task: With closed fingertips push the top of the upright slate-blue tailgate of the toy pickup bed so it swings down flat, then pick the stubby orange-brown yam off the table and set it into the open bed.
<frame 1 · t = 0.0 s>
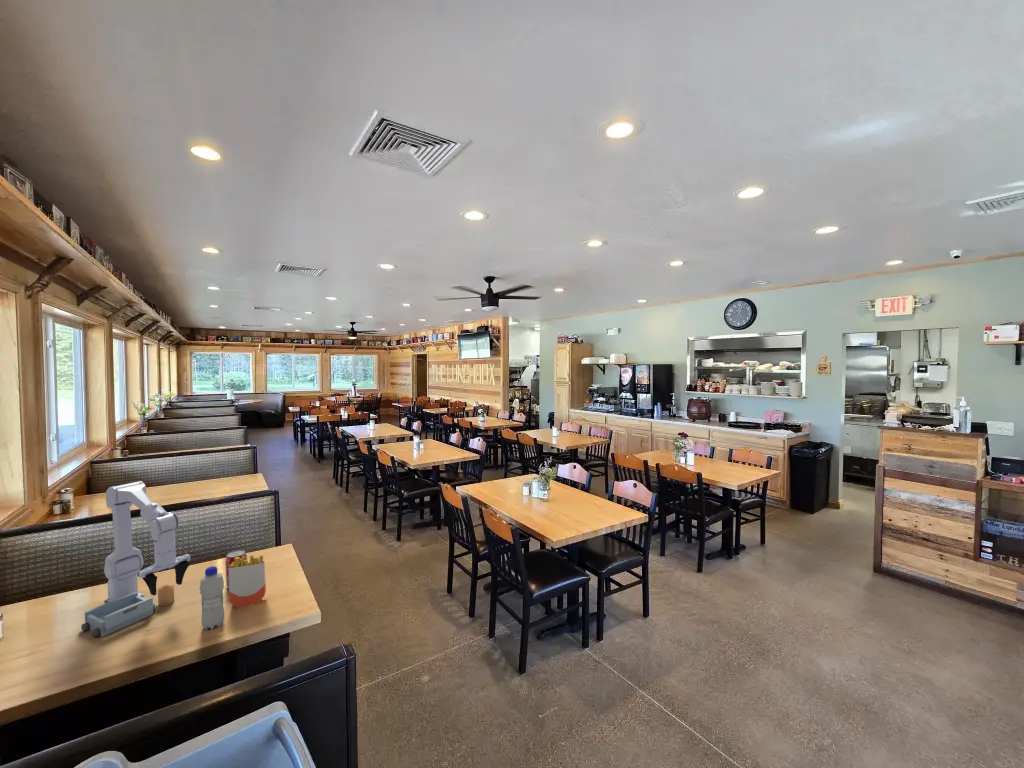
hand: (166, 589, 149), 10 cm above the table, fingers open, 7 cm apart
yam: (166, 602, 159), on the table
bottle: (213, 626, 145), on the table
french fries container: (248, 603, 159), on the table
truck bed: (120, 620, 148), on the table
soda can: (237, 586, 171), on the table
tailgate: (129, 612, 145), point 5 cm above the table, hinge at 0.0°
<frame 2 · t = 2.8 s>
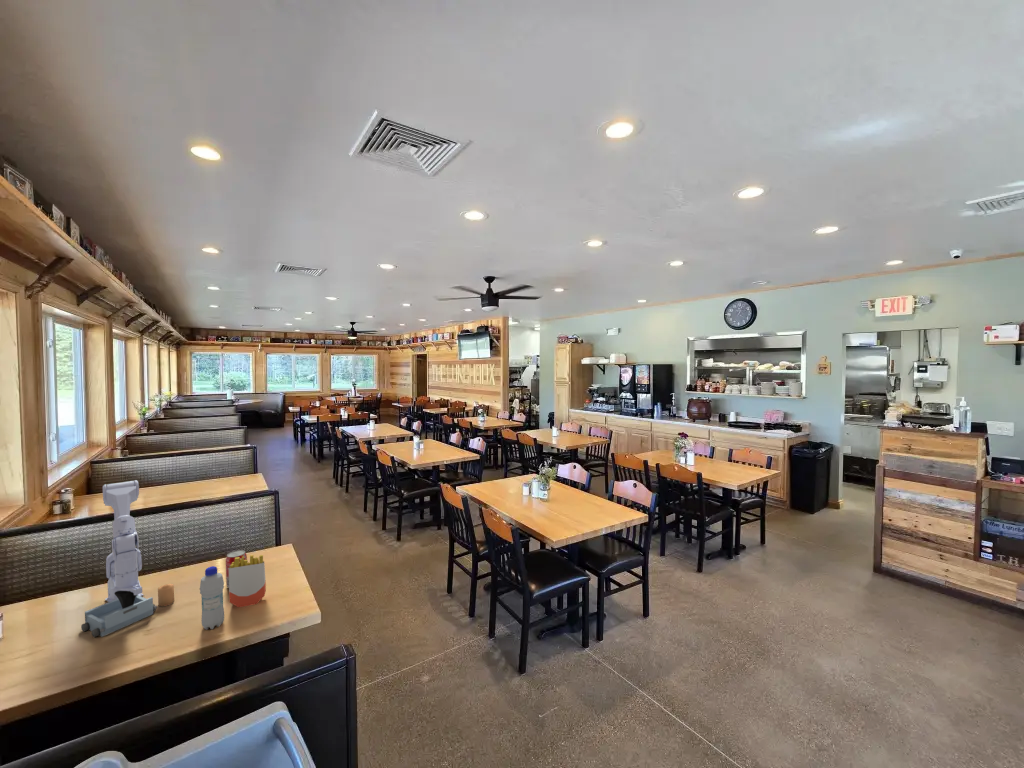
hand: (128, 610, 145), 5 cm above the table, fingers closed, pressing on tailgate
tailgate: (129, 612, 145), point 4 cm above the table, hinge at 0.0°, touching gripper
everything else where it was.
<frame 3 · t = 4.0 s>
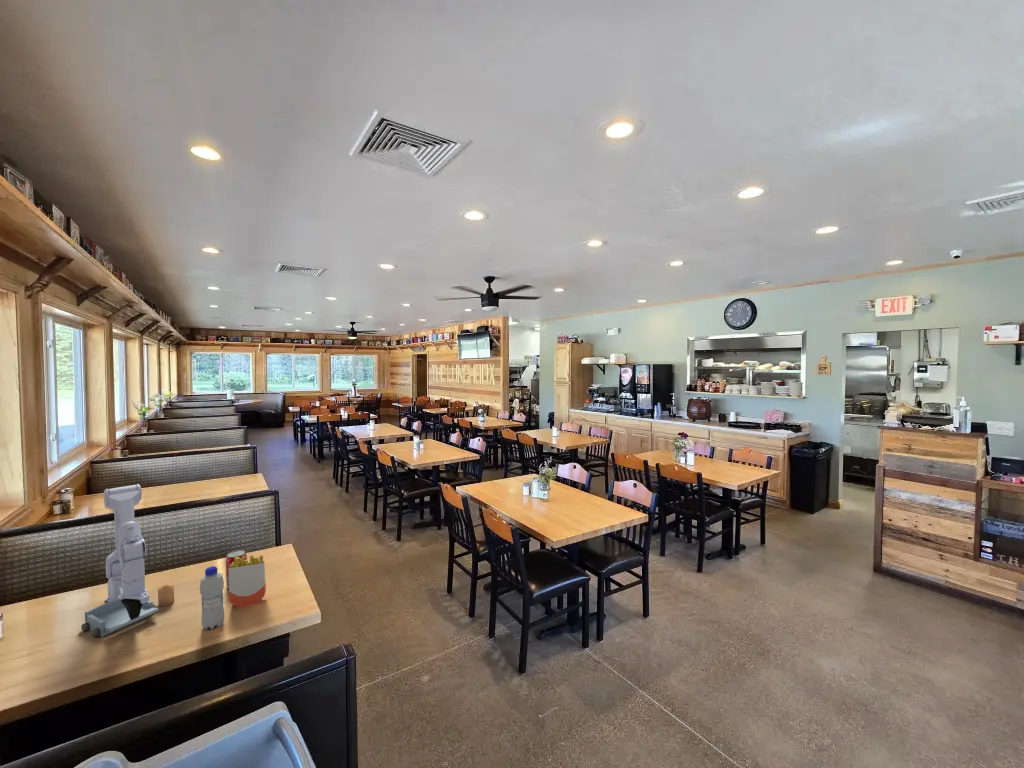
hand: (134, 618, 144), 3 cm above the table, fingers closed, pressing on tailgate
tailgate: (133, 619, 144), point 3 cm above the table, hinge at 79.9°, touching gripper
everything else where it was.
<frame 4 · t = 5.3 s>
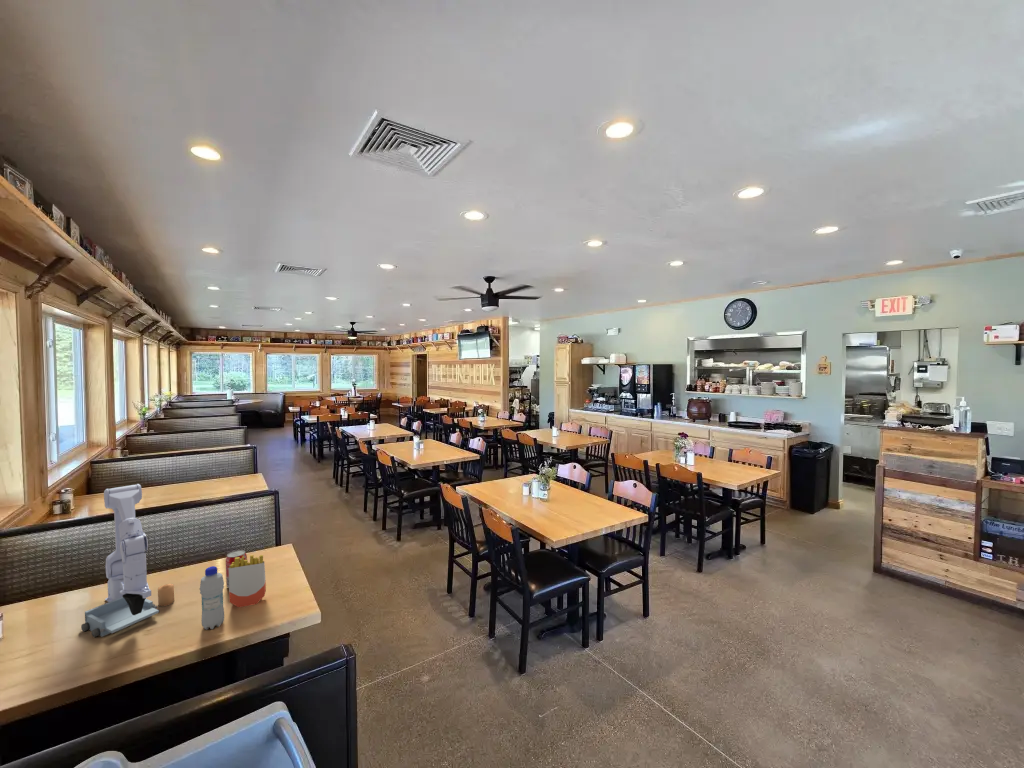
hand: (136, 613, 143), 5 cm above the table, fingers closed
tailgate: (133, 620, 144), point 2 cm above the table, hinge at 89.4°
everything else where it was.
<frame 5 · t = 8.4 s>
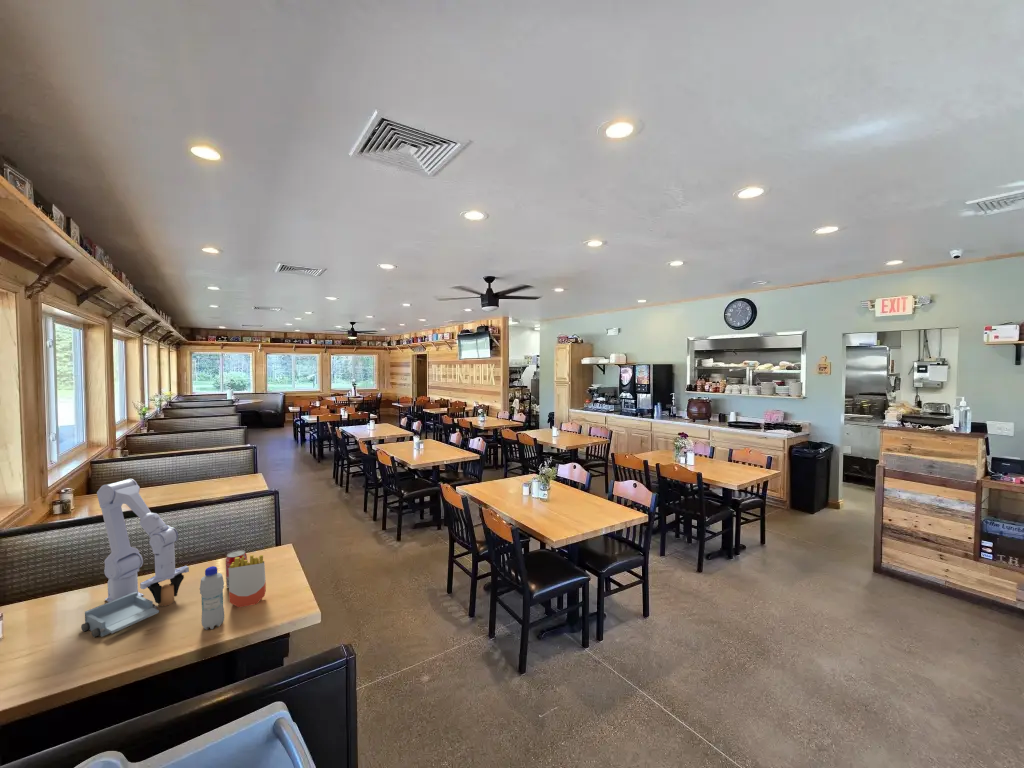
hand: (166, 599, 159), 1 cm above the table, fingers closed on yam, 5 cm apart
yam: (166, 602, 159), on the table, touching gripper
tailgate: (133, 620, 144), point 2 cm above the table, hinge at 89.9°
everything else where it was.
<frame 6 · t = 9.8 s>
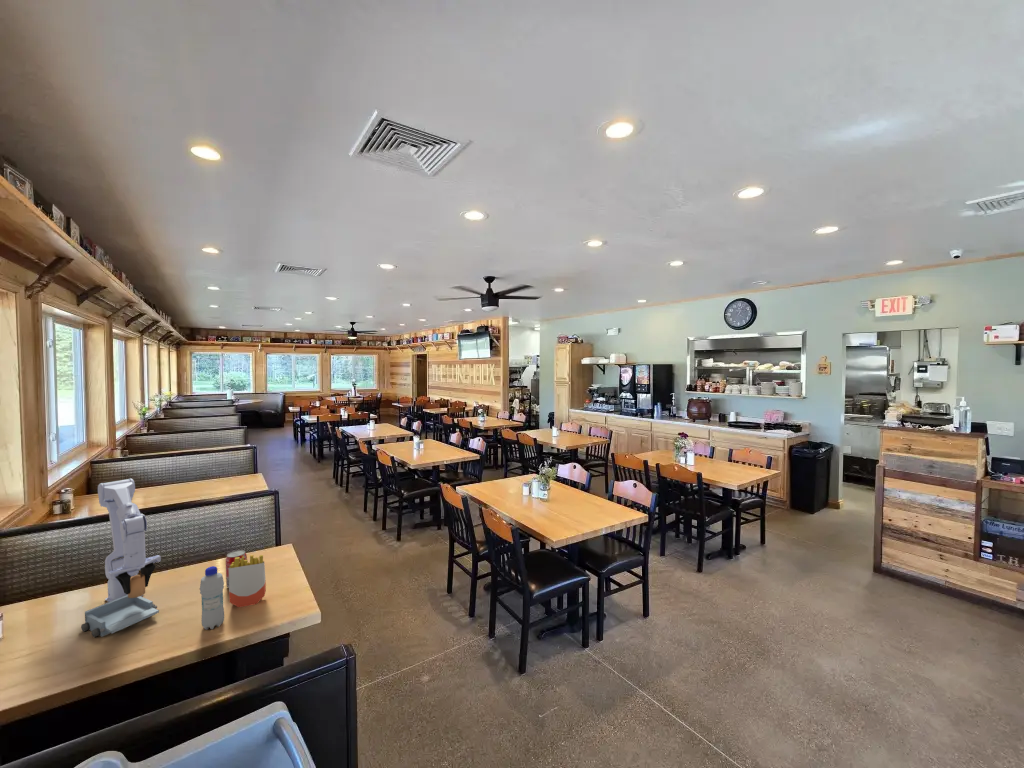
hand: (136, 589, 151), 9 cm above the table, fingers closed on yam, 5 cm apart
yam: (136, 594, 151), point 7 cm above the table, touching gripper
everything else where it was.
when the fingers open (5 cm above the table, at t = 11.3 s): yam stays where it is, resting on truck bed.
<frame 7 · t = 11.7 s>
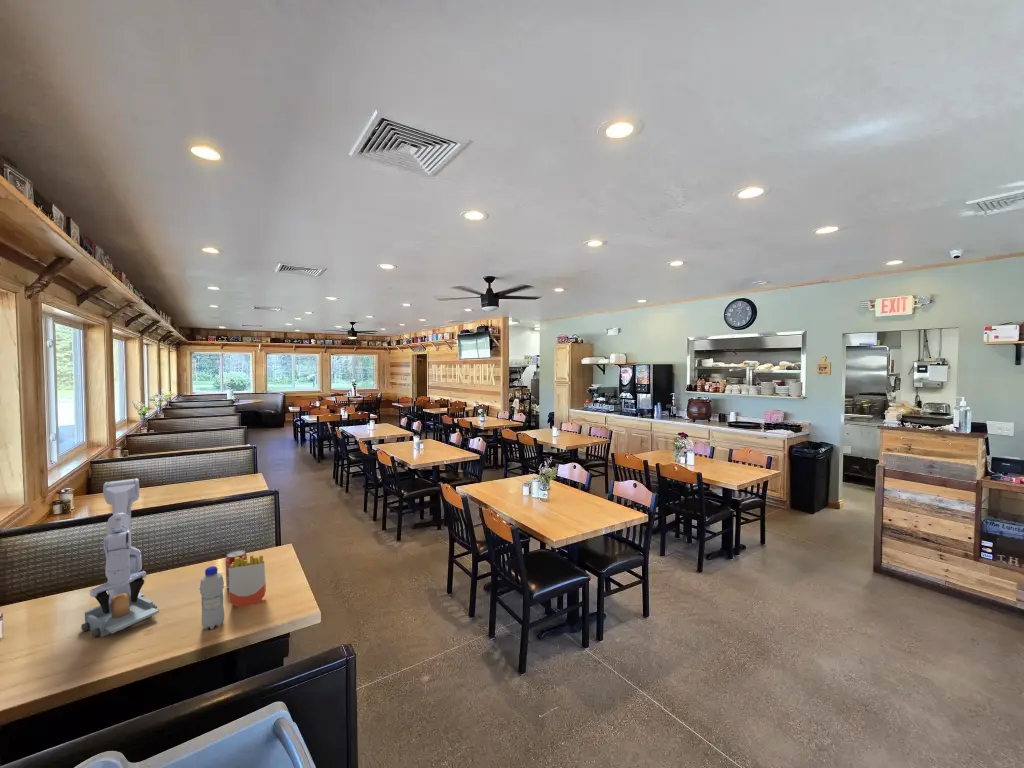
hand: (120, 607, 147), 5 cm above the table, fingers open, 7 cm apart
yam: (120, 614, 147), point 3 cm above the table, touching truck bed
everything else where it was.
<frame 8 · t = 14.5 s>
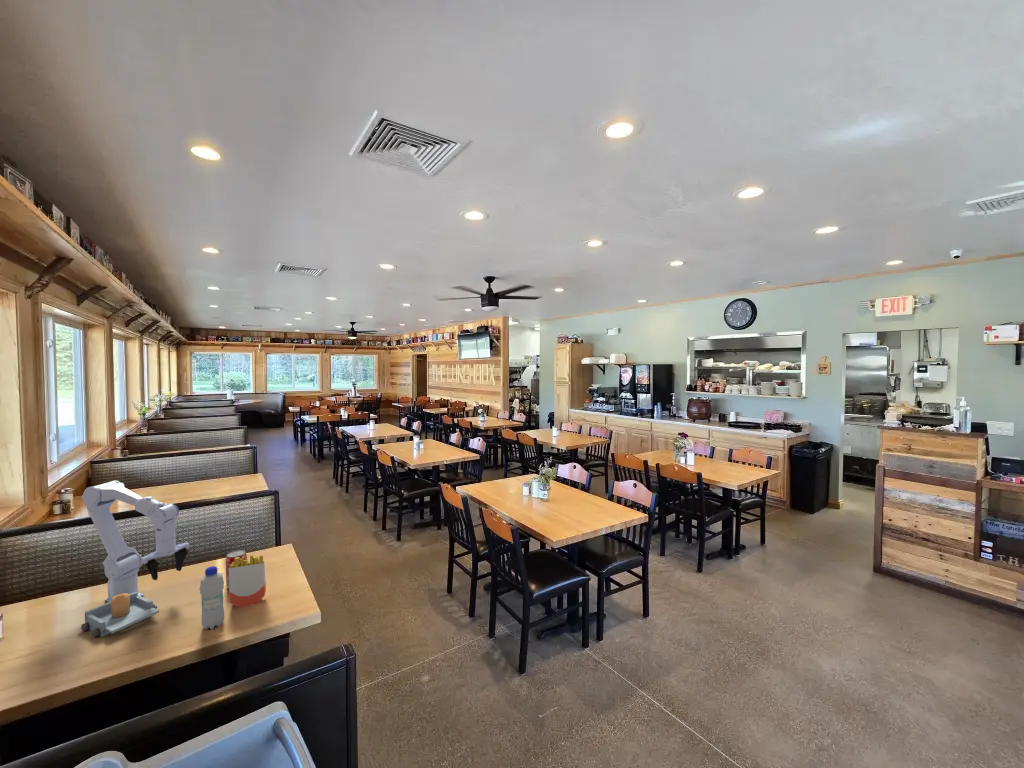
hand: (167, 574, 160), 10 cm above the table, fingers open, 7 cm apart
nothing on the table moved.
at the end: tailgate at +90° (first picture: +0°); yam inside the target area on the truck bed (0.1 cm from its centre), point 2.5 cm above the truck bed's base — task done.
